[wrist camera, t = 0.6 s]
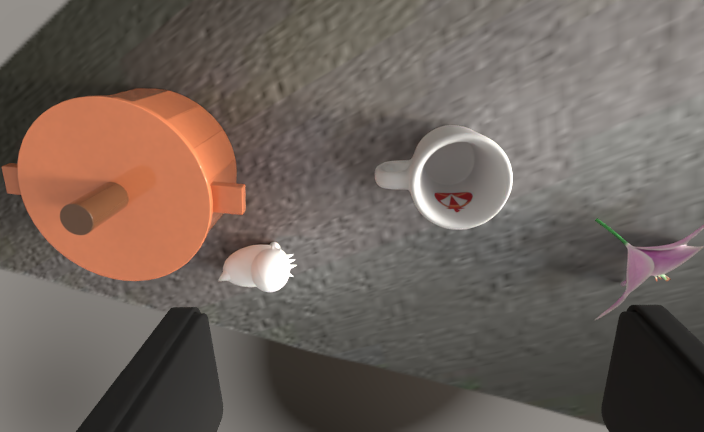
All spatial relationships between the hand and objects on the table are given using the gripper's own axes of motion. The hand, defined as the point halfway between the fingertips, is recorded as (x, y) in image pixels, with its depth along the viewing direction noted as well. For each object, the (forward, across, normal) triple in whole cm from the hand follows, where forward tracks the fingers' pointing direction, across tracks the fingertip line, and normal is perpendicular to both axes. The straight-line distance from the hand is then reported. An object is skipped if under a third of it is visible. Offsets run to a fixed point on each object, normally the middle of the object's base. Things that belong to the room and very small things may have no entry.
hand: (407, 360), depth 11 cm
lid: (+26, +22, +4) cm, 34 cm away
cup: (+34, -4, +4) cm, 35 cm away
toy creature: (+35, +13, +14) cm, 40 cm away
